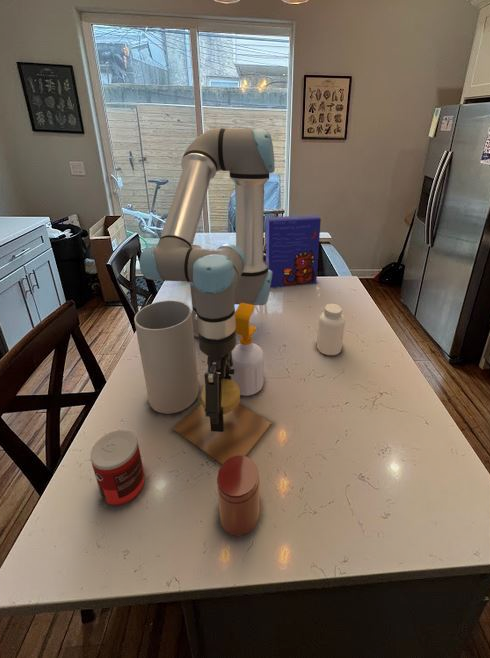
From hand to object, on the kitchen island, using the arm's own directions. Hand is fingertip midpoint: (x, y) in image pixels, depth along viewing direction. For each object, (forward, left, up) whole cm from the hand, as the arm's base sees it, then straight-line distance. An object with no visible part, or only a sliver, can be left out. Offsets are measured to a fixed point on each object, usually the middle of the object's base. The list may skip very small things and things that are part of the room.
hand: (222, 412), depth 75 cm
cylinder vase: (-17, 0, -5) cm, 18 cm away
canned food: (-7, -21, -5) cm, 23 cm away
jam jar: (+15, -12, -5) cm, 20 cm away
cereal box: (-26, +73, -5) cm, 78 cm away
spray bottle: (-4, +14, -5) cm, 16 cm away
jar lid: (0, 0, +6) cm, 6 cm away
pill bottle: (+8, +41, -5) cm, 42 cm away
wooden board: (0, 0, -5) cm, 5 cm away
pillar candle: (-66, +52, -5) cm, 84 cm away
